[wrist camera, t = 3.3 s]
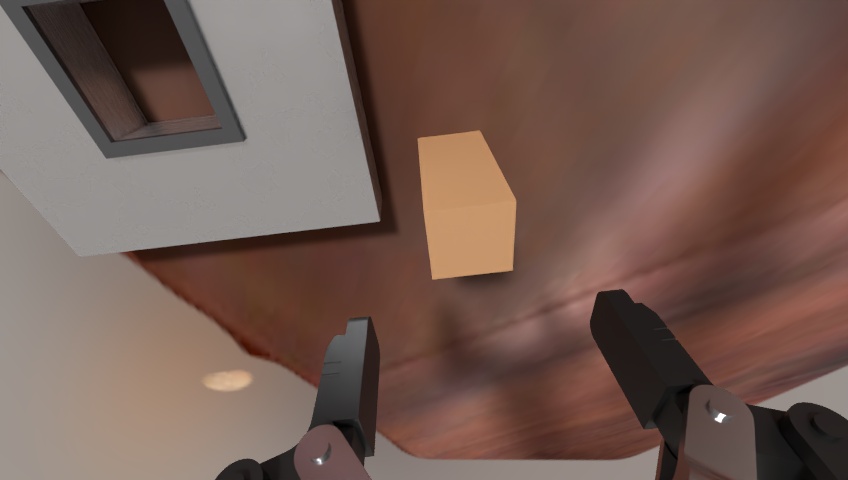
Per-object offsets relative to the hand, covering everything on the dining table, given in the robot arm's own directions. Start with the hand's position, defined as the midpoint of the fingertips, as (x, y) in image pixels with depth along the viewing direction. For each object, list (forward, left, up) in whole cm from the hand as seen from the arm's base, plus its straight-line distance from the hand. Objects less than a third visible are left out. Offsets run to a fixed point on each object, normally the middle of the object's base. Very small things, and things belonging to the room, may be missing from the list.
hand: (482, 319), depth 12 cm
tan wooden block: (0, 0, -14) cm, 14 cm away
